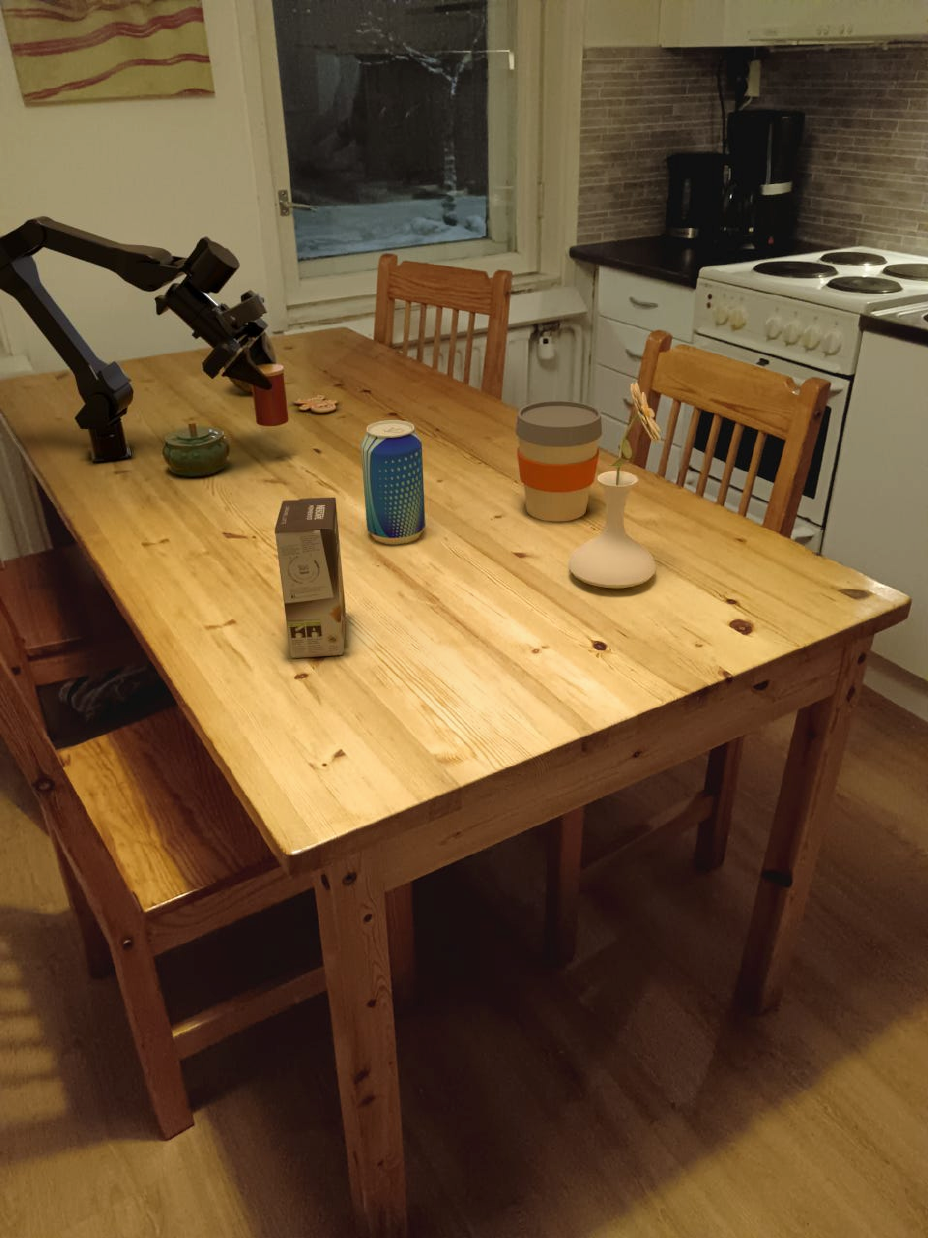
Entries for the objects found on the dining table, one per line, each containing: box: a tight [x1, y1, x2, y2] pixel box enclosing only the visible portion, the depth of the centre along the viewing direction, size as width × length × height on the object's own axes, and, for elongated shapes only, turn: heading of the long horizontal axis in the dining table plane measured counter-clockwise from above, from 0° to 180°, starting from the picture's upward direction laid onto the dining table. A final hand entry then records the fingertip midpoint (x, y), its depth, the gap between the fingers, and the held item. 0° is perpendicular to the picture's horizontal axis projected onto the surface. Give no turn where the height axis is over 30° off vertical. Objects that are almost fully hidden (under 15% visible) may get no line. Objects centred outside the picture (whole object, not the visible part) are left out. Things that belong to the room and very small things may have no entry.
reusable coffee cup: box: [515, 400, 603, 523], centre depth 142 cm, size 13×12×15 cm
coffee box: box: [274, 497, 347, 659], centre depth 110 cm, size 9×6×16 cm
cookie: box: [293, 395, 338, 414], centre depth 191 cm, size 8×1×10 cm
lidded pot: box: [162, 421, 231, 478], centre depth 161 cm, size 11×11×8 cm
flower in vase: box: [567, 381, 662, 589], centre depth 121 cm, size 13×11×25 cm
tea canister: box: [252, 363, 290, 427], centre depth 160 cm, size 6×6×9 cm
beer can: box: [360, 419, 426, 545], centre depth 135 cm, size 8×8×16 cm
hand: (276, 382), depth 159 cm, fingers closed on tea canister, 5 cm apart
